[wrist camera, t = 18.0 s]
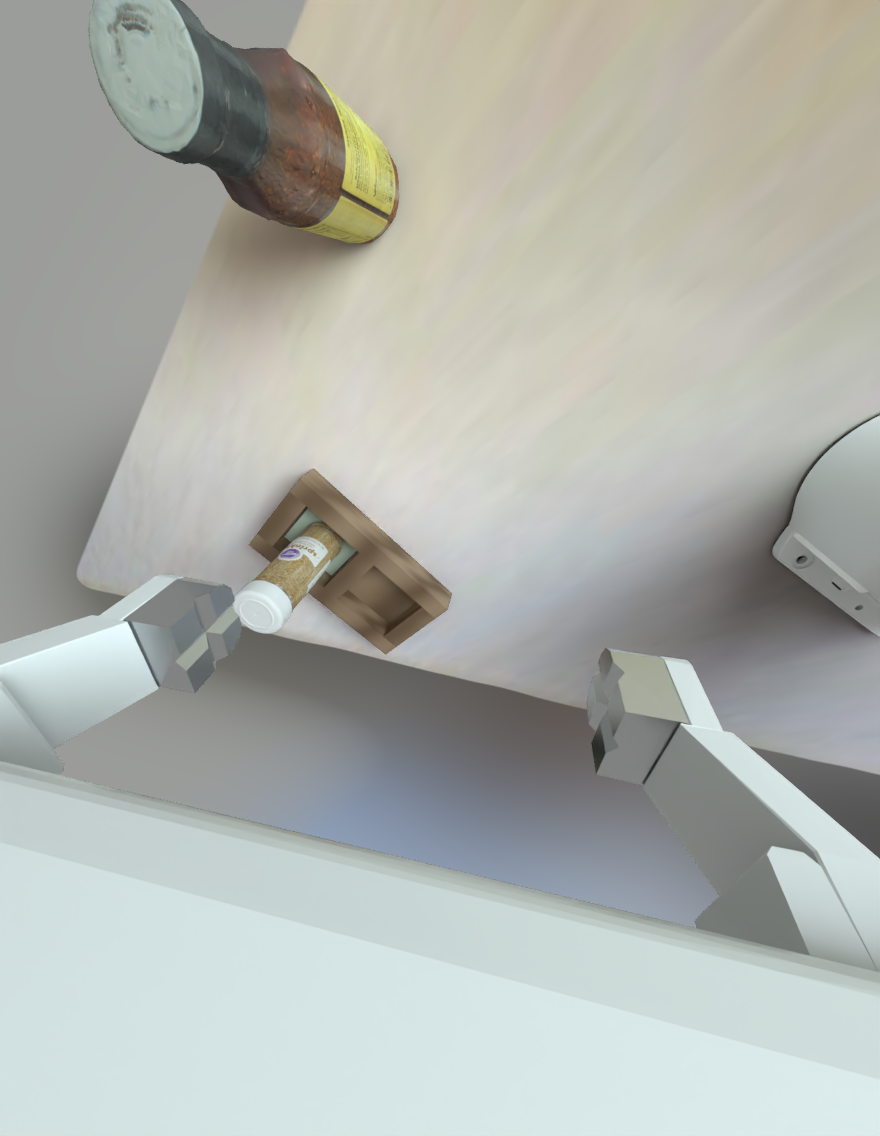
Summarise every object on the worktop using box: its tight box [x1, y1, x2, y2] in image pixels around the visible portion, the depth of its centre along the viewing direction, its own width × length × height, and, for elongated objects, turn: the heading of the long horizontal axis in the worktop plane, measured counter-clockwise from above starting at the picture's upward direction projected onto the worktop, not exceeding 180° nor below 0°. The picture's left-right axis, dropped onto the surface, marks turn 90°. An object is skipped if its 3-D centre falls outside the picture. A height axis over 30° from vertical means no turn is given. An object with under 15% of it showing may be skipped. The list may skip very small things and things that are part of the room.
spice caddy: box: [249, 469, 452, 654], centre depth 46 cm, size 20×11×3 cm, turn 47°
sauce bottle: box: [89, 0, 399, 243], centre depth 21 cm, size 6×6×20 cm
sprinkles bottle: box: [232, 522, 342, 634], centre depth 40 cm, size 5×5×13 cm
